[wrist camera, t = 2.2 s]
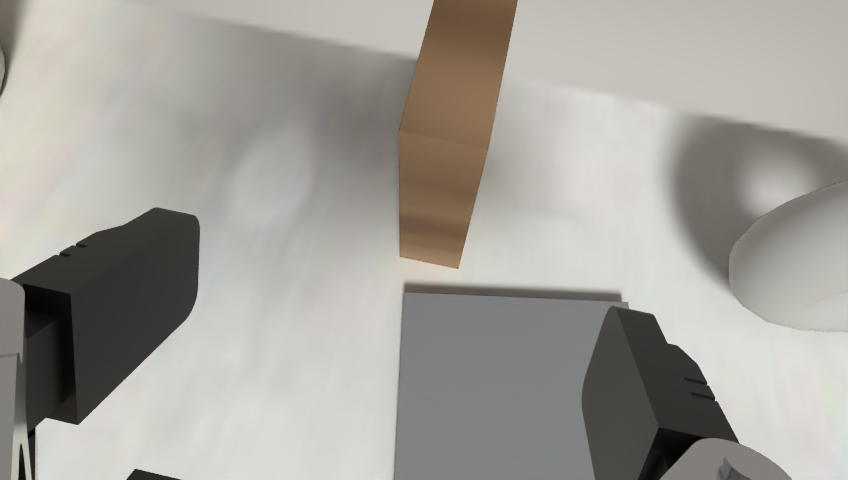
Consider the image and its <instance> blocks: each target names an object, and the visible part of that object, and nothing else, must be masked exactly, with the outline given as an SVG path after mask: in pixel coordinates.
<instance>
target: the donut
mask: <svg viewBox="0 0 848 480" xmlns="http://www.w3.org/2000/svg"><path fill="white" fill-rule="evenodd" d="M729 283H730V286H731V289H732V292H733V294H734V296H735V297H736V298H737V299H738V301H739V302H740V303H741V304H742V306H744V307H745V308H747V309H748V310H750V311H751V312H753V313H754V314H756V315H757V316H759V317H760V318H762V319H764V320H765V321H767V322H770V323H774V324H777V325H781V326H785V327H790V328H794V329H799V330H809V331H822V332H848V180H847V181H843V182H839V183H835V184H832V185H829V186H827V187H824V188H822V189H819V190H816V191H814V192H811V193H808V194H806V195H803V196H800V197H798V198H795V199H793V200H791V201H788V202H786V203H784V204H783V205H781V206H779V207H777V208H776V209H774V210H772V211H770V212H769V213H767V214H765V215H763V216H762V217H760V218H758V219H757V220H756V221H755V222H754V223H753V224H752V225H751V226H750V227H749V228H748V230H747V231H746V232H745V233H744V234H743V235H742V236H741V237H740V238H739V239H738V240H737V241H736V242H735V243H734V246H733V248H732V250H731V253H730V255H729Z"/></svg>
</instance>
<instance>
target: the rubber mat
mask: <svg viewBox="0 0 848 480" xmlns="http://www.w3.org/2000/svg"><path fill="white" fill-rule="evenodd" d="M611 306H617V307H622V308H626V309H629V306H628V302H613V301H591V300H568V299H545V298H523V297H500V296H478V295H455V294H433V293H410V292H404V299H403V318H402V338H401V357H400V377H399V397H398V416H397V436H396V455H395V475H394V480H595V477H594V471H593V466H592V461H591V455H590V450H589V445H588V439H587V434H586V428H585V423H584V418H583V412H582V404H581V400H582V389H583V383H584V379H585V375H586V372H587V369H588V366H589V363H590V360H591V357H592V354H593V351H594V348H595V345H596V342H597V339H598V336H599V333H600V330H601V327H602V323H603V320H604V318H605V315H606V313H607V311H608V309H609V308H610V307H611Z"/></svg>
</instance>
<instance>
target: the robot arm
mask: <svg viewBox="0 0 848 480" xmlns="http://www.w3.org/2000/svg"><path fill="white" fill-rule="evenodd" d="M4 73H5V62H4V53H3V50H2V47H1V44H0V89H1V85H2V81H3V77H4ZM199 241H200V226H199V221H198V219H197V217H196V216H194V215H190V214H186V213H181V212H176V211H172V210H167V209H162V208H158V207H157V208H153V209H151V210H149V211H148V212H146V213H144V214H142V215H141V216H139V217H137V218H135V219H134V220H132V221H130V222H128V223H127V224H125V225H122V226H118V227H114V228H111V229H107V230H103V231H99V232H96V233H94V234H92V235H90V236H88V237H87V238H85V239H83V240H81V241H79V242H78V243H76V246H73V245H72V246H70V247H69V248H67V249H65V250H63V251H61V252H60V254H59V255H54V256H52V257H51V258H49V259H47V260H45V261H43V262H41V263H40V264H38V265H36V266H34V267H32V268H31V269H29V270H27V271H25V272H23V273H22V274H20V275H18V276H16V277H14V278H13V279H11V280H7V279H3V278H0V480H38V439H37V428H36V426H37V425H38V424H39V423H40V422H41V421H42V420H44V419H45V418H50V419H54V420H59V421H63V422H67V423H71V424H76V425H79V424H80V423H81V422H82V421H83V420H84V419H85V418H86V417H87V416H88V415H89V414H90V413H91V412H92V411H93V410H94V409H95V408H96V407H97V406H98V405H99V404H100V403H101V402H102V401H103V400H104V399H105V398H106V397H107V396H108V395H109V394H110V393H111V392H112V391H113V390H114V389H115V388H116V387H117V386H118V385H119V384H120V383H121V382H122V381H123V380H124V379H126V378H127V377H128V376H129V375H130V374H131V373H132V372H133V371H134V370H135V369H136V368H137V367H138V366H139V365H140V364H141V363H142V362H143V361H144V360H145V359H146V358H147V357H148V356H149V355H150V354H151V353H152V352H153V351H154V350H155V349H156V348H157V347H158V346H159V345H160V344H161V343H162V342H163V341H164V340H165V339H166V338H167V337H168V336H169V335H170V334H171V333H172V332H174V331H175V330H176V329H177V328H178V327H179V326H180V325H181V324H182V323H183V322H184V321H185V320H186V319H187V317H188V316H189V314H190V313H191V311H192V309H193V306H194V304H195V301H196V297H197V291H198V269H199ZM581 404H582V412H583V418H584V423H585V428H586V434H587V439H588V445H589V450H590V455H591V461H592V466H593V471H594V477H595V480H792V479H791V478H790V477H789V476H788V475H787V473H786V472H785V471H783V470H782V469H781V468H780V467H779V466H778V465H776V464H775V463H774V462H772V461H771V460H770V459H768V458H767V457H765V456H763V455H762V454H760V453H758V452H756V451H755V450H753V449H751V448H748V447H746V446H744V445H741V444H740V443H739V441H738V439H737V438H736V436H735V434H734V432H733V430H732V428H731V426H730V424H729V423H728V421H727V419H726V417H725V415H724V413H723V411H722V409H721V407H720V406H719V404H718V402H717V401H715V396H714V394H713V392H712V391H711V389H710V387H709V386H707V381H706V379H705V377H704V376H703V374H702V372H701V370H700V368H699V366H698V364H697V363H696V362H695V361H694V360H692V359H691V358H690V357H689V356H688V355H687V354H686V353H685V352H684V351H683V350H682V349H680V348H679V347H678V346H676V345H672V344H667V342H666V339H665V337H664V335H663V333H662V331H661V329H660V327H659V325H658V323H657V321H656V318H655V317H654V315H653V314H650V313H645V312H640V311H636V310H631V309H626V308H622V307H617V306H611V307H610V308H609V309H608V311H607V313H606V315H605V318H604V320H603V323H602V327H601V330H600V333H599V336H598V339H597V342H596V345H595V348H594V351H593V354H592V357H591V360H590V363H589V366H588V369H587V372H586V375H585V379H584V383H583V389H582V400H581ZM127 480H180V479H176V478H171V477H167V476H163V475H159V474H155V473H151V472H146V471H142V470H138V469H135V470H134V471H133V472H132V473H131V475H130V476H129V477H128V478H127Z"/></svg>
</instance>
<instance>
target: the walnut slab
mask: <svg viewBox="0 0 848 480" xmlns="http://www.w3.org/2000/svg"><path fill="white" fill-rule="evenodd" d="M517 1H518V0H434V3H433V6H432V10H431V14H430V18H429V21H428V25H427V29H426V32H425V36H424V40H423V44H422V47H421V51H420V54H419V58H418V62H417V65H416V69H415V73H414V76H413V80H412V84H411V87H410V91H409V95H408V98H407V102H406V106H405V109H404V113H403V117H402V121H401V124H400V128H399V218H400V257H404V258H409V259H413V260H418V261H423V262H428V263H432V264H437V265H442V266H447V267H451V268H456V269H458V268H459V264H460V260H461V256H462V252H463V248H464V244H465V240H466V236H467V232H468V228H469V224H470V220H471V216H472V212H473V207H474V203H475V199H476V195H477V191H478V187H479V183H480V179H481V175H482V171H483V167H484V163H485V159H486V155H487V151H488V147H489V142H490V137H491V132H492V127H493V122H494V117H495V112H496V107H497V102H498V97H499V92H500V86H501V81H502V76H503V71H504V66H505V61H506V56H507V51H508V46H509V41H510V36H511V31H512V26H513V21H514V16H515V10H516V6H517Z"/></svg>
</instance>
